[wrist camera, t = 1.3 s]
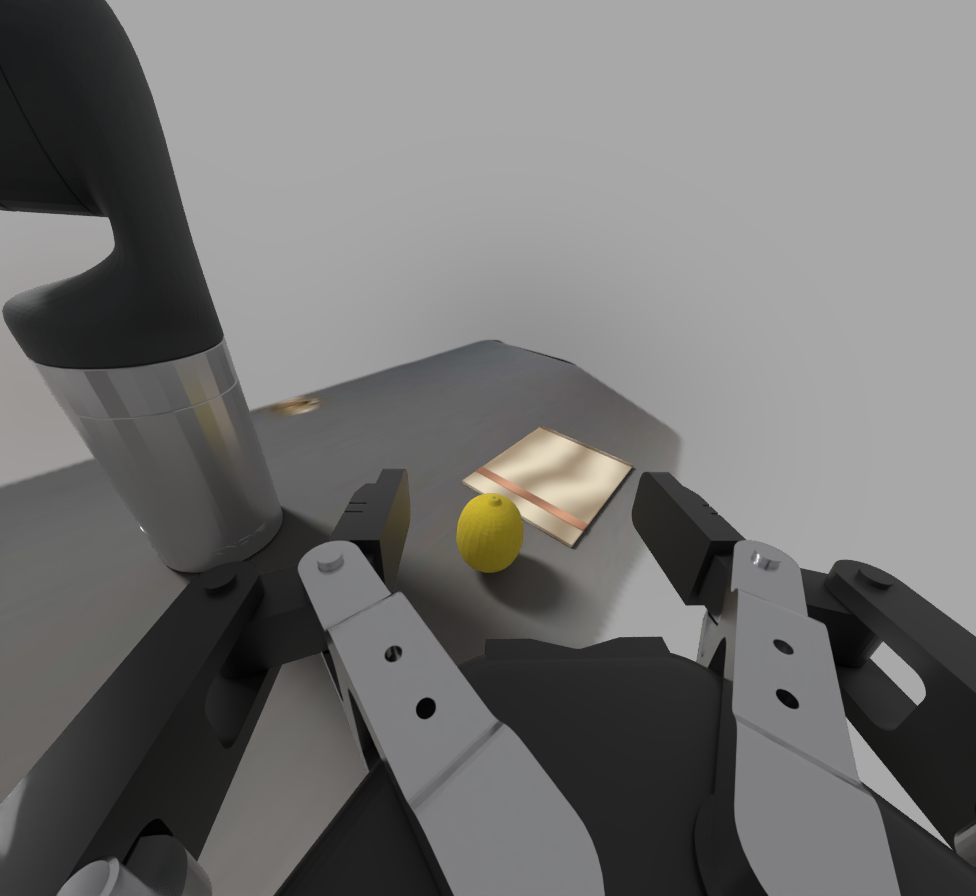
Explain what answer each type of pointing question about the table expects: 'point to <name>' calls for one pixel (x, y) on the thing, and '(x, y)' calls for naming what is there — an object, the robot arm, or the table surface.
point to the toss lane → (552, 482)
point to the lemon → (490, 532)
